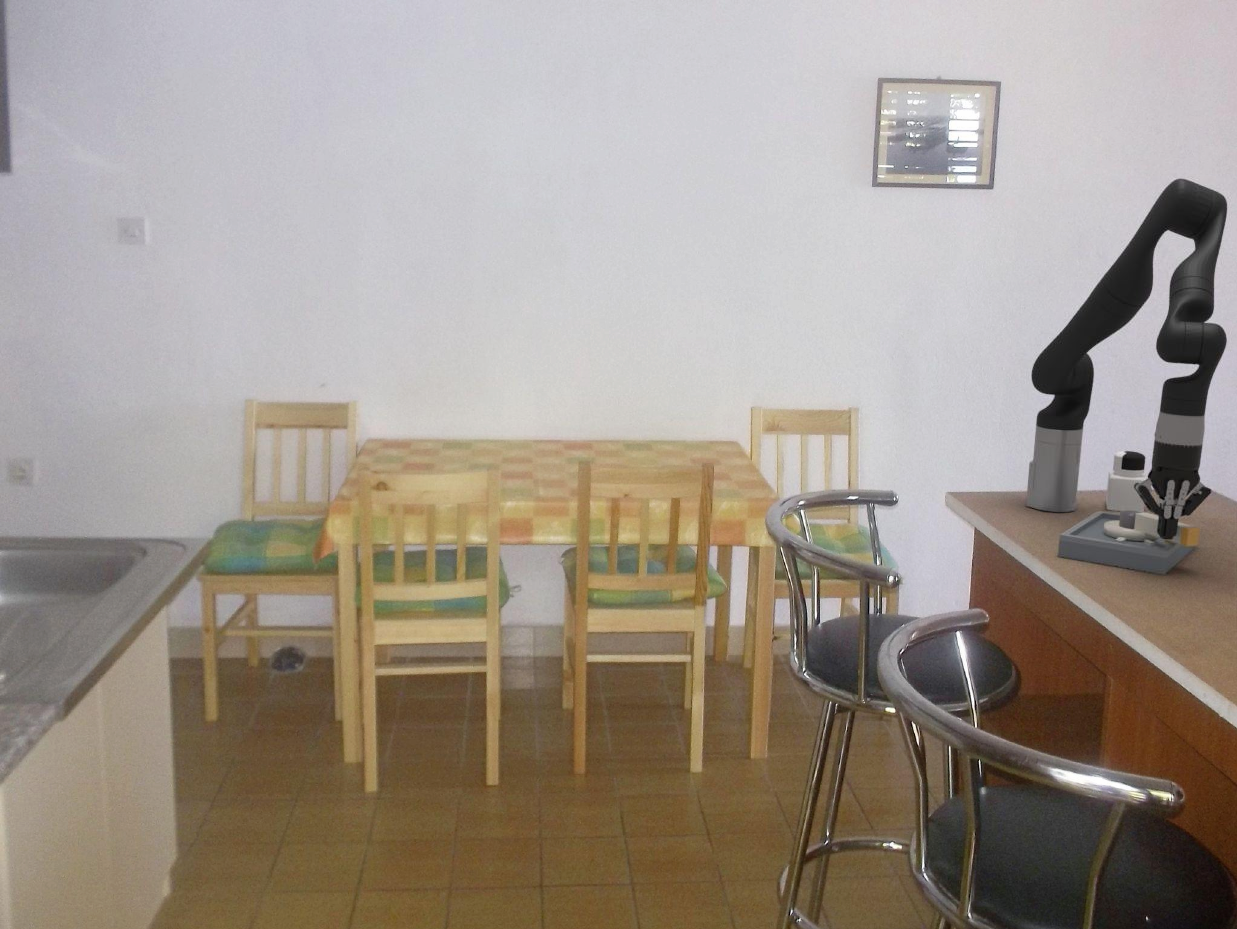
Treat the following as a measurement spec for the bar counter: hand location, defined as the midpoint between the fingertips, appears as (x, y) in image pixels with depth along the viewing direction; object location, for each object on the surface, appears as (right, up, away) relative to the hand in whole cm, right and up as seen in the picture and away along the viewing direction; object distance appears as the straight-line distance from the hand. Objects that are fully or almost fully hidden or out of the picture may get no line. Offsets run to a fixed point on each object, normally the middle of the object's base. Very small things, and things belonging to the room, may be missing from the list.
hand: (1166, 538), depth 212 cm
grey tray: (-1, -3, +12) cm, 13 cm away
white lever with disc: (+1, -1, +8) cm, 8 cm away
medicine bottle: (+12, +3, +47) cm, 48 cm away
